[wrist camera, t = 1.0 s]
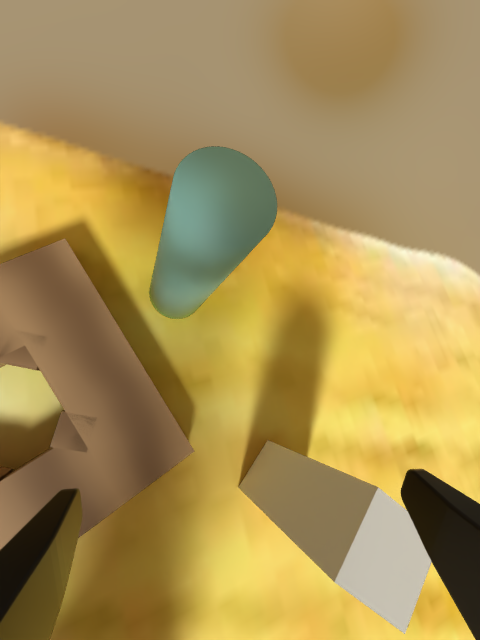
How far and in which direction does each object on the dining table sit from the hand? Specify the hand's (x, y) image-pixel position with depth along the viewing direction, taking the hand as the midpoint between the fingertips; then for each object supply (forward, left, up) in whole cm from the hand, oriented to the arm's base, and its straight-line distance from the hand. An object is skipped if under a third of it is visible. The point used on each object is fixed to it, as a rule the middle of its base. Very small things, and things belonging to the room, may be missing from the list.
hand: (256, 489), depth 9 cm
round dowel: (+5, +8, -15) cm, 18 cm away
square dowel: (+4, -8, -16) cm, 18 cm away
